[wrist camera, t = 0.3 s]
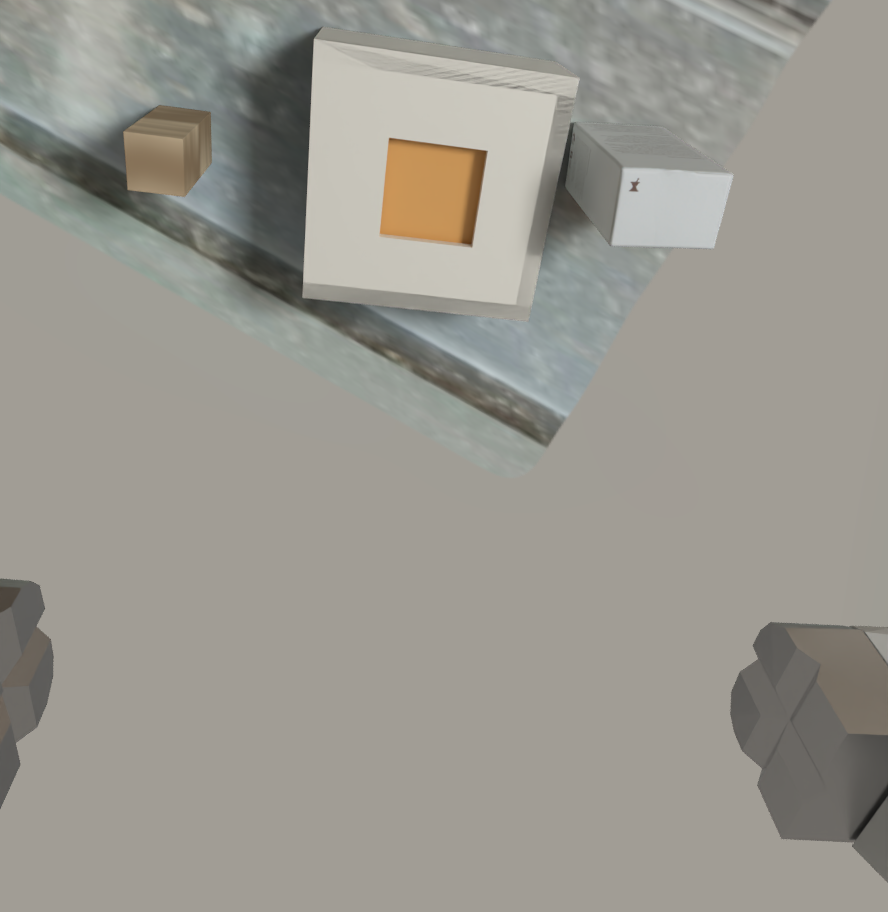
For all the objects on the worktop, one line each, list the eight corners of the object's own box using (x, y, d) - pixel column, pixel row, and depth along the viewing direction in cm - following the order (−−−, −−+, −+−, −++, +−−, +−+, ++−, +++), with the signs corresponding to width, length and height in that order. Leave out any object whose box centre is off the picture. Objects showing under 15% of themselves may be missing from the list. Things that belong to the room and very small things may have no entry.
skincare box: (563, 189, 52) (605, 248, 42) (572, 119, 50) (620, 164, 40) (652, 193, 52) (716, 252, 42) (666, 125, 50) (736, 170, 40)
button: (369, 98, 45) (368, 106, 43) (505, 117, 46) (511, 126, 44) (358, 235, 49) (356, 249, 47) (482, 249, 50) (487, 264, 48)
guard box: (322, 26, 46) (313, 38, 40) (555, 61, 48) (579, 77, 42) (311, 258, 53) (302, 297, 47) (513, 281, 55) (528, 321, 49)
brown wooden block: (159, 105, 48) (123, 131, 41) (210, 111, 48) (182, 139, 41) (162, 156, 49) (127, 190, 43) (211, 162, 50) (184, 196, 43)
